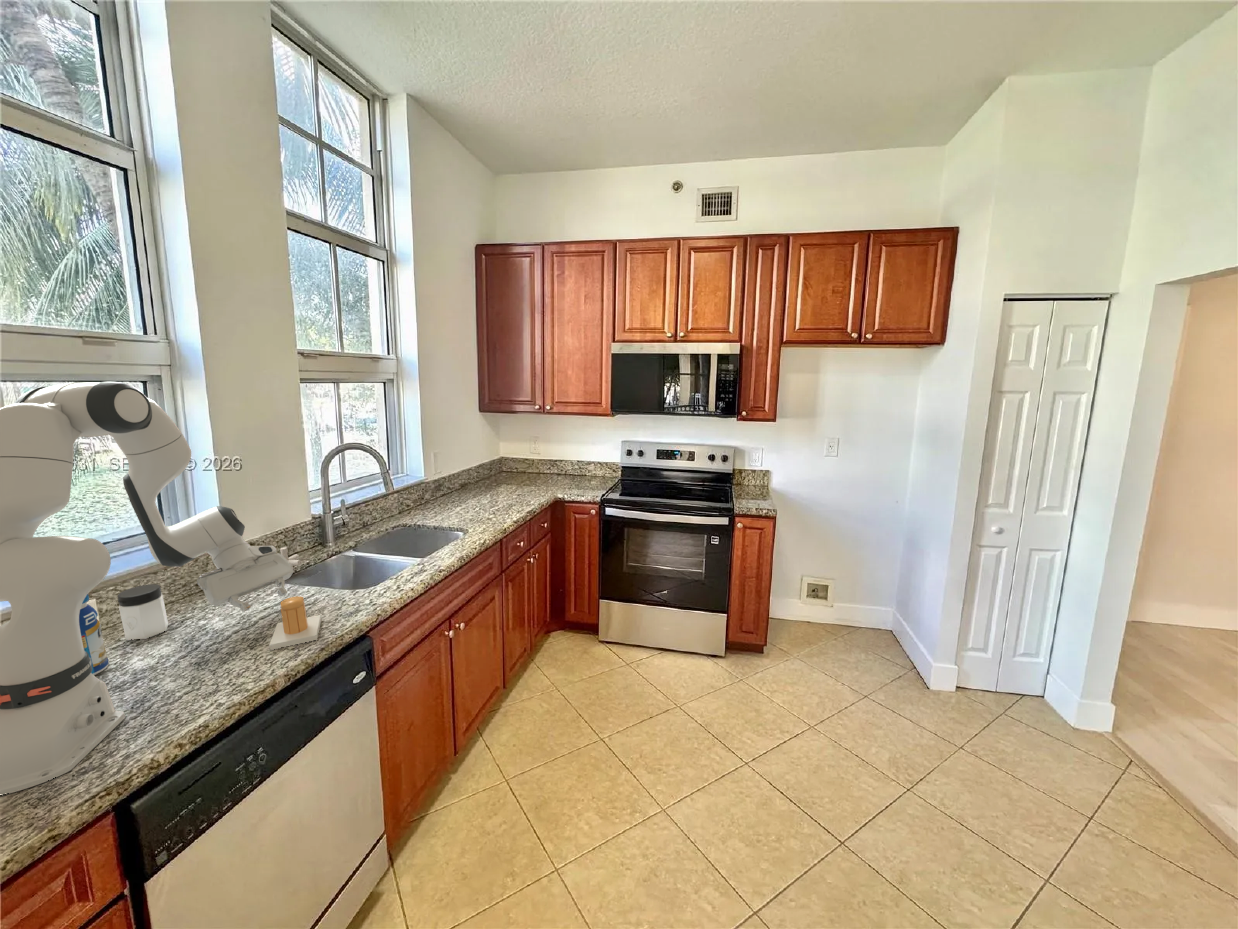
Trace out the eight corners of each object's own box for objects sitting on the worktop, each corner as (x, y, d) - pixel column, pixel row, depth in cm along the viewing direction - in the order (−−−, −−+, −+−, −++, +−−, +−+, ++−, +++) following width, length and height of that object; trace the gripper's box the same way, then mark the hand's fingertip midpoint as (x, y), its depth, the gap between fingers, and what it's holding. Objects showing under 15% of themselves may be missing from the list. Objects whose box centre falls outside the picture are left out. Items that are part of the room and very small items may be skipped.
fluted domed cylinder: (306, 631, 127) (302, 602, 126) (283, 635, 125) (278, 606, 124) (308, 622, 132) (304, 594, 130) (286, 627, 129) (282, 598, 128)
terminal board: (317, 640, 126) (314, 618, 124) (270, 650, 121) (266, 627, 120) (321, 619, 136) (318, 599, 135) (278, 628, 132) (275, 607, 131)
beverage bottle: (47, 680, 110) (26, 598, 107) (95, 659, 118) (77, 582, 114) (71, 687, 108) (50, 603, 104) (119, 665, 116) (101, 586, 112)
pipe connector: (311, 570, 170) (308, 543, 168) (290, 583, 160) (285, 554, 158) (285, 570, 171) (281, 542, 169) (262, 582, 161) (257, 553, 159)
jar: (115, 642, 126) (105, 598, 124) (141, 626, 134) (132, 585, 132) (154, 639, 127) (145, 596, 125) (177, 623, 135) (169, 582, 133)
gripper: (196, 570, 123) (226, 613, 121) (279, 543, 142) (306, 580, 140) (189, 584, 126) (218, 626, 124) (272, 556, 144) (298, 592, 142)
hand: (266, 602), depth 132 cm, fingers open, 8 cm apart
